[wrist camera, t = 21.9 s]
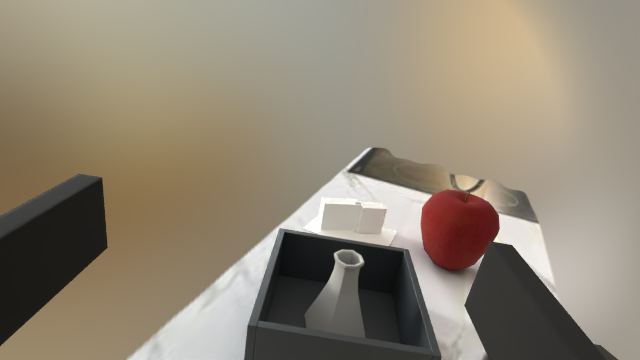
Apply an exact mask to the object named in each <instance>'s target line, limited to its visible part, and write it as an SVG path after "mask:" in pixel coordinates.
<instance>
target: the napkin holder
mask: <svg viewBox="0 0 640 360" xmlns="http://www.w3.org/2000/svg"><path fill="white" fill-rule="evenodd" d="M386 210H387V208H386V207H385V206H384V205H383V203H372V202H360V200H357V199H341V198H322V200H321V206H320V211H319V215H318V216H317V217H316V218H315V219H313V220H312V221H311V222H310V223H309V224H307V225H306V226H305V227H304V228H303V229H306V230H308V231H311V232H313V233H316V234H318V235H324V236H330V237H336V238H342V239H348V240H354V241H360V242H366V243H372V244H378V245H384V246H389V245H390V243H391V242H392V240H393V239H394V237H395V236H396V234H397V233H398V232H396V231H393V230H390V229H388V228H385V227H382V226H383V222H384V218H385V214H386Z"/></svg>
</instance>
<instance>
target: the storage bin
mask: <svg viewBox="0 0 640 360" xmlns="http://www.w3.org/2000/svg"><path fill="white" fill-rule="evenodd" d="M340 250H354V251H355V252H357V253H358V254H360V255H361V256H362V258H363V261H364V265H363V266H362V267H360V270H359V275H358V296H359V302H360V309H361V315H362V320H363V325H364V331H365V338H362V337H356V336H350V335H344V334H337V333H331V332H325V331H319V330H313V329H307V328H306V323H305V316H304V314H305V313H306V312H307V310H308V309H309V307H310V306H311V305H312V303H313V302H314V301H315V300H316V298H317V297H318V296H319V294H320V293H321V291H322V290H323V288H324V287H325V285H326V284H327V283H328V281H329V279H330V277H331V274H332V272H333V270H334V266H335V262H336V261H335V258H334V253H335V252H338V251H340ZM244 360H441V353H440V350H439V347H438V344H437V340H436V337H435V334H434V331H433V328H432V324H431V321H430V318H429V315H428V311H427V308H426V305H425V302H424V299H423V295H422V292H421V289H420V286H419V282H418V279H417V276H416V273H415V269H414V266H413V263H412V260H411V257H410V253H409V250H408V249H402V248H396V247H390V246H384V245H378V244H372V243H366V242H360V241H354V240H348V239H342V238H336V237H330V236H324V235H318V234H311V233H305V232H299V231H293V230H287V229H286V230H285V229H281V228H280V229H279V232H278V235H277V238H276V241H275V244H274V247H273V250H272V253H271V256H270V259H269V262H268V265H267V268H266V271H265V274H264V278H263V281H262V284H261V287H260V290H259V293H258V296H257V299H256V302H255V305H254V308H253V311H252V314H251V317H250V320H249V323H248V328H247V338H246V348H245V358H244Z"/></svg>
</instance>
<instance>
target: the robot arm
mask: <svg viewBox="0 0 640 360" xmlns="http://www.w3.org/2000/svg"><path fill="white" fill-rule="evenodd" d="M107 248H108V247H107V235H106V222H105V209H104V196H103V183H102V178H101V177H95V176H89V175H82V174H78V175H76V176H74V177H72V178H70V179H69V180H67V181H65V182H63V183H61V184H59V185H57V186H55V187H54V188H52V189H50V190H48V191H46V192H44V193H43V194H40V195H39V196H37V197H35V198H33V199H31V200H29V201H27V202H25V203H23V204H22V205H20V206H18V207H16V208H14V209H12V210H11V211H9V212H7V213H5V214H3V215H1V216H0V346H1V345H2V344H3V343H4V342H5V341H6V340H7V339H8V338H9V337H11V336H12V335H13V334H14V333H15V332H16V331H17V330H18V329H19V328H20V327H22V326H23V325H24V324H25V323H26V322H27V321H28V320H29V319H30V318H31V317H32V316H34V315H35V314H36V313H37V312H38V311H39V310H40V309H41V308H42V307H43V306H44V305H46V304H47V303H48V302H49V301H50V300H51V299H52V298H53V297H54V296H55V295H56V294H58V293H59V292H60V291H61V290H62V289H63V288H64V287H65V286H66V285H67V284H68V283H69V282H70V281H72V280H73V279H74V278H75V277H76V276H77V275H78V274H79V273H80V272H81V271H83V270H84V269H85V268H86V267H87V266H88V265H89V264H90V263H91V262H92V261H93V260H94V259H96V258H97V257H98V256H99V255H100V254H101V253H102V252H103V251H104V250H105V249H107ZM464 306H465V308H466V310H467V312H468V314H469V316H470V318H471V321H472V323H473V325H474V327H475V329H476V331H477V334H478V336H479V338H480V340H481V342H482V344H483V346H484V349H485V351H486V353H487V355H488V357H489V359H490V360H618V359H616V358H615V357H614V356H613V355H612V354H610V353H609V352H608V351H607V350H606V349H604V348H603V347H602V346H601V345H595V344H593V343H592V342H591V340H590V339H589V338H588V337H587V336H586V334H585V333H584V332H583V331H582V329H581V328H580V327H579V326H578V325H577V323H576V322H575V321H574V320H573V319H572V317H571V316H570V315H569V314H568V313H567V311H566V310H565V309H564V308H563V306H562V305H561V304H560V303H559V302H558V300H557V299H556V298H555V297H554V296H553V294H552V293H551V292H550V291H549V289H548V288H547V287H546V286H545V285H544V283H543V282H542V281H541V280H540V279H539V277H538V276H537V275H536V274H535V272H534V271H533V270H532V269H531V268H530V266H529V265H528V264H527V263H526V262H525V260H524V259H523V258H522V257H521V256H520V254H519V253H518V252H517V251H516V249H515V248H514V247H513V246H512V245H508V244H502V243H496V242H489V244H488V247H487V249H486V252H485V254H484V257H483V259H482V262H481V265H480V267H479V270H478V272H477V275H476V277H475V280H474V282H473V285H472V287H471V290H470V293H469V295H468V298H467V300H466V303H465V305H464Z"/></svg>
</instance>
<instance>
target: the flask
mask: <svg viewBox="0 0 640 360" xmlns="http://www.w3.org/2000/svg"><path fill="white" fill-rule="evenodd" d="M334 258H335V261H336V262H335V266H334V270H333V272H332V274H331V277H330V279H329V281H328V283H327V284H326V285H325V287H324V288H323V290H322V291H321V293H320V294H319V296H318V297H317V298H316V300H315V301H314V302H313V303H312V305H311V306H310V307H309V309H308V310H307V312H306V313H305V314H304V316H305V323H306V328H307V329H313V330H319V331H325V332H331V333H337V334H344V335H350V336H356V337H362V338H365V331H364V325H363V320H362V315H361V309H360V302H359V296H358V275H359V270H360V267H362V266H363V265H364V261H363V258H362V256H361V255H360V254H358V253H357V252H355V251H354V250H340V251H338V252H335V253H334Z"/></svg>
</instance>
